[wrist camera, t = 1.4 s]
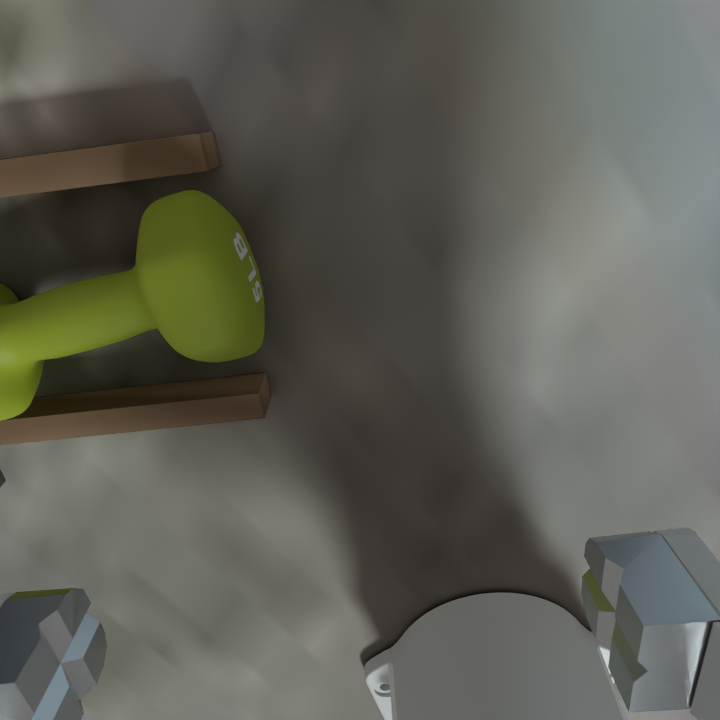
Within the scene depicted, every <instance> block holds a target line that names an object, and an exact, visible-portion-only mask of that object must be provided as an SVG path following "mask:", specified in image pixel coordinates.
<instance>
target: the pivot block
mask: <svg viewBox="0 0 720 720" xmlns="http://www.w3.org/2000/svg"><path fill="white" fill-rule="evenodd" d="M4 482H5V479H4V477H3V475H2V473H1V471H0V487H1V486H2V485H3V484H4Z"/></svg>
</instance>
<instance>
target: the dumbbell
mask: <svg viewBox="0 0 720 720" xmlns="http://www.w3.org/2000/svg"><path fill="white" fill-rule="evenodd" d="M152 329H159V331H160V333H161V334H162V336H163V337H164V339H165V340H166V341H167V342H168V343H169V344H170V346H171V347H172V348H173V349H174V350H176V351H177V352H178V353H180V354H182V355H183V356H185V357H187V358H190V359H193V360H197V361H203V362H225V361H230V360H235V359H239V358H242V357H246V356H249V355H252V354H254V353H255V352H256V351H257V350H258V349H259V348H260V347H261V344H262V342H263V338H264V332H265V303H264V291H263V285H262V281H261V277H260V273H259V270H258V267H257V264H256V261H255V259H254V256H253V253H252V251H251V248H250V246H249V243H248V241H247V239H246V236H245V234H244V232H243V230H242V228H241V226H240V225H239V223H238V222H237V220H236V219H235V218H234V217H233V215H232V214H231V213H230V212H229V211H227V210H226V209H225V208H224V207H223V206H222V205H221V204H220V203H218V202H217V201H216V200H214V199H213V198H212V197H211V196H209V195H207V194H205V193H203V192H201V191H196V190H186V191H182V192H178V193H175V194H171V195H168V196H166V197H163V198H160V199H158V200H157V201H155V202H153V203H152V204H151V205H150V206H149V207H148V208H147V209H146V210H145V212H144V214H143V216H142V219H141V222H140V227H139V233H138V240H137V250H136V265H135V266H134V267H133V268H132V269H130V270H128V271H124V272H118V273H112V274H107V275H102V276H98V277H94V278H90V279H86V280H82V281H78V282H74V283H70V284H67V285H64V286H61V287H58V288H55V289H52V290H49V291H46V292H43V293H40V294H38V295H35V296H32V297H30V298H28V299H25V300H23V301H19V300H18V298H17V297H16V295H15V294H14V293H13V291H12V290H11V289H10V288H8V287H7V286H5V285H3V284H1V283H0V421H2V420H6V419H10V418H13V417H15V416H17V415H19V414H21V413H23V412H24V411H25V410H26V409H27V408H28V407H29V406H30V404H31V402H32V400H33V398H34V395H35V393H36V390H37V388H38V385H39V381H40V378H41V374H42V370H43V364H44V360H46V359H54V358H60V357H64V356H69V355H73V354H77V353H80V352H84V351H88V350H92V349H96V348H99V347H103V346H106V345H110V344H113V343H116V342H119V341H123V340H126V339H128V338H131V337H133V336H136V335H138V334H141V333H143V332H146V331H149V330H152Z"/></svg>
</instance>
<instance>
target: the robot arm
mask: <svg viewBox="0 0 720 720" xmlns="http://www.w3.org/2000/svg"><path fill="white" fill-rule="evenodd" d="M584 556H585V558H586V560H587V562H588V565H589V567H590V569H589V570H588V571H587V572H586V573H585V574H584V575H583V576H582V598H583V604H584V610H585V613H586V617H587V620H588V623H589V625H590V628H591V630H592V632H590V631H589V630H587V629H586V628H585V627H584V626H583V625H582V624H581V623H580V622H579V621H578V620H577V619H576V618H575V617H574V616H573V615H572V614H570V613H569V612H568V611H566V610H565V609H563V608H562V607H560V606H558V605H556V604H554V603H552V602H550V601H547V600H545V599H542V598H538V597H535V596H530V595H525V594H518V593H485V594H478V595H472V596H467V597H463V598H460V599H456V600H453V601H450V602H448V603H445V604H443V605H441V606H438V607H437V608H435V609H433V610H431V611H429V612H428V613H426V614H424V615H423V616H422V617H420V618H419V619H418V620H416V621H415V622H414V623H413V624H412V625H411V626H410V627H409V628H408V629H407V630H406V632H405V633H404V634H403V635H402V637H401V638H400V639H399V640H398V641H397V643H396V644H395V645H393V646H392V647H391V648H389V649H387V650H385V651H383V652H382V653H380V654H378V655H376V656H375V657H373V658H372V659H370V660H369V661H368V662H367V663H366V664H365V667H364V671H365V679H366V683H367V685H368V687H369V689H370V691H371V693H372V695H373V697H374V699H375V701H376V703H377V705H378V707H379V709H380V711H381V713H382V715H383V717H384V719H385V720H627V719H626V717H625V714H624V711H623V708H622V706H621V703H620V700H619V698H618V695H617V693H616V690H615V687H614V682H615V683H616V685H617V688H618V690H619V692H620V694H621V696H622V698H623V701H624V703H625V705H626V707H627V709H628V711H629V712H642V711H660V710H679V709H691V710H690V713H691V714H692V715H694V716H695V717H696V718H697V719H698V720H720V562H719V561H718V560H717V558H716V557H715V556H714V555H713V553H712V552H711V551H710V550H709V548H708V547H707V546H706V545H705V543H704V542H703V541H702V540H701V538H700V537H699V536H698V535H697V534H696V532H694V531H693V530H691V529H689V528H679V529H669V530H660V531H654V532H651V531H648V532H639V533H630V534H620V535H611V536H602V537H593V538H589V539H588V541H587V542H586V545H585V554H584ZM90 604H91V602H90V600H89V598H88V597H87V595H86V593H85V591H84V589H79V588H68V589H54V590H39V591H25V592H16V593H4V594H0V720H81V718H82V716H83V714H84V712H83V708H82V704H81V698H82V697H83V696H84V695H85V694H86V693H87V692H89V691H90V690H91V689H92V688H93V687H94V686H95V685H96V684H97V681H98V679H99V676H100V674H101V671H102V669H103V667H104V661H105V655H106V648H107V643H106V636H105V631H104V629H103V627H102V625H101V623H100V621H98V620H97V619H95V618H94V617H92V616H90V615H89V614H87V610H88V608H89V606H90Z"/></svg>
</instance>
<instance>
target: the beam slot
mask: <svg viewBox="0 0 720 720" xmlns="http://www.w3.org/2000/svg"><path fill="white" fill-rule="evenodd" d="M219 166H221V164H220V160H219V155H218V150H217V146H216V141H215V137H214V132H213V131H211V132H203V133H196V134H188V135H181V136H173V137H166V138H158V139H151V140H143V141H136V142H128V143H121V144H113V145H106V146H98V147H91V148H83V149H75V150H68V151H60V152H53V153H45V154H38V155H30V156H23V157H15V158H8V159H0V198H3V197H11V196H18V195H26V194H34V193H42V192H49V191H57V190H65V189H73V188H80V187H88V186H96V185H104V184H111V183H119V182H127V181H135V180H143V179H150V178H158V177H166V176H174V175H181V174H189V173H197V172H205V171H209V170H211V169H214V168H216V167H219ZM270 398H271V393H270V388H269V383H268V379H267V374H266V373H258V374H248V375H239V376H230V377H221V378H211V379H202V380H193V381H183V382H174V383H165V384H156V385H146V386H137V387H128V388H119V389H109V390H100V391H91V392H81V393H72V394H63V395H54V396H44V397H35V398H33V400H32V402H31V404H30V406H29V407H28V408H27V409H26V410H25V411H24V412H23V413H21V414H19V415H17V416H15V417H13V418H10V419H6V420H2V421H0V445H8V444H18V443H28V442H37V441H47V440H57V439H66V438H76V437H86V436H95V435H105V434H115V433H124V432H134V431H144V430H154V429H163V428H173V427H183V426H192V425H202V424H212V423H221V422H231V421H241V420H250V419H260V418H265V414H266V411H267V408H268V405H269V402H270Z"/></svg>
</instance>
